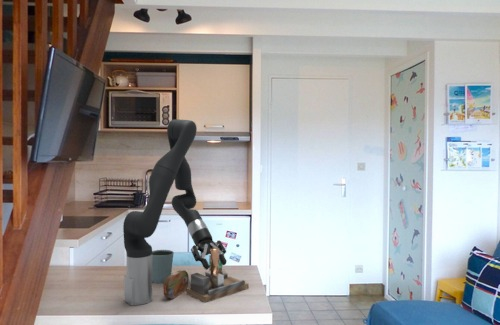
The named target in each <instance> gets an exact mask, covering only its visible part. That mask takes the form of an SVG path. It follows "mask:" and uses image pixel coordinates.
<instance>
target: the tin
mask: <svg viewBox="0 0 500 325" xmlns="http://www.w3.org/2000/svg"><path fill="white" fill-rule="evenodd" d="M189 279H190V278H189V274H188V272H187V271H186V270H181V269H179V270H176V272H174V273H171V275H170V276H168V277H167V278H166V279H165V281H164V283H163V284H162V285H163V286H162V287H163V295H164V297H166V298H168V299H175V298H177V297H178V296H180V295H181V294H182V293H184V292H185V291H187V288H188V286H189V281H190V280H189Z"/></svg>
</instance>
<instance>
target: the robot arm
mask: <svg viewBox="0 0 500 325" xmlns="http://www.w3.org/2000/svg"><path fill="white" fill-rule="evenodd" d="M166 130H167V131H166V132H167V139H168V145H169V149H170V150H168V152H166V153H165V154H164V155H163V156H161V157H160V158H159V159H158V160H157V161H156V163H155V164H154V167H153V169H152V171H151V172H150V176H149V178H148V189H149V191H148V192H149V197H148V201H147V204H146V206H145V208H144V209H143V211H138V210H133V211H130V212H128V213H127V214H126V216H125V217H124V220H123V225H122V230H123V231H122V232H123V246H124V250H125V252H126V254H125V255H126V274H125V275H124V277H123V278H124V280H123V281H124V282H123V283H124V288H123V291H124V292H123V293H124V295H123V296H124V298H123V299H124V300H123V301H124V302H126V303H127V304H129V306H137V305H145V304H148V303H150V302H151V301H152V300H153V282H152V251H153V248H152V245H151V244H150V243H149V242H147V240H146V238H150V237H151V236H152V235H153V234H154V233H155V231H156V230H157V227H158V225H159V221H160V218H161V215H162V212H163V209H164V206H165V203H166V200H167V198H168V195H169V193H170V190H171V189H172V186H173V184H174V187H175V189H176V190H178V191H185V193H182V194H178V195H175V196H173V197H172V199H171V207H172V208H173V210H174V212H176V214H177V215H178V216H180V218H181V219H182V220H183V222H184V224H185V226H186V228H187V230H188V234H189V235H190V237H191V239H192V241H193V243H194V245H193V246H192V247H191V248H190V251H191V254H192V256H193V258H194V261H195V262H200V263H201V264H202V267H203V269H205V270H209V267H210V266H209V262H208V260H207V258H206V256H208V255H211V248H219V259H220V261H221V263H222V266H226V264H227V259H226V257H225V254H226V253H227V250H226V248H225V247H224V245H223V243H222V241H221V240H217V241H216V242H215V241H214V240H213V236H212V234H211V232H210V230H209V228H208V226H207V224H206V223H205V221H204V220H203V218H202V216H201V215H200V212H199V211H198V210H197V209H194V208H195V207H196V206H197V197H196V195H195V192H194V188H193V185H192V184H193V183H192V171H191V170H192V169H191V167H190V164H189V162H188V160H187V158H186V157H185V156H186V155H187V153H188V150H190V147H191V146H192V144H193V142H194V140H195V138H196V135H197V123H196V122H195V121H193V120H188V119H174V118H173V119H171V120H170V121H169V122H168V125H167V126H166ZM199 252H200V253H199Z"/></svg>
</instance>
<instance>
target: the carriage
mask: <svg viewBox="0 0 500 325" xmlns="http://www.w3.org/2000/svg"><path fill="white" fill-rule="evenodd" d="M210 256H211V263H210V271H209V270H208V271H205V273H204V274H205V275H204V276H207V277H209V281H210V282H211V287H213V288H219V287H222V286H224V275H223V273H222V274H219V248H211V254H210Z"/></svg>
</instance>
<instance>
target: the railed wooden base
mask: <svg viewBox="0 0 500 325" xmlns="http://www.w3.org/2000/svg"><path fill="white" fill-rule="evenodd" d="M222 275H224V286H222V287H219V288H213V287H211V288H210V289H209V277H207V276H205V275H204V274H201V273H198V272H196V273H191V274H190V287H187V289H186V294H187V295H188V296H191V297H193V298H195V299H197V300H199V301H202V302H204V303H208V302H210V301H213V300H214V301H215V300H216V299H220V298H222V297H226V296H230V295H232V294H233V295H234V294H235V293H238V292H241V291H244V290H248V289H249V286H250V285H249V283H248V282H246V280H244V279H242V280H240V279H237V278H235V277H232V276H228V273H224V274H223V273H222Z"/></svg>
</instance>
